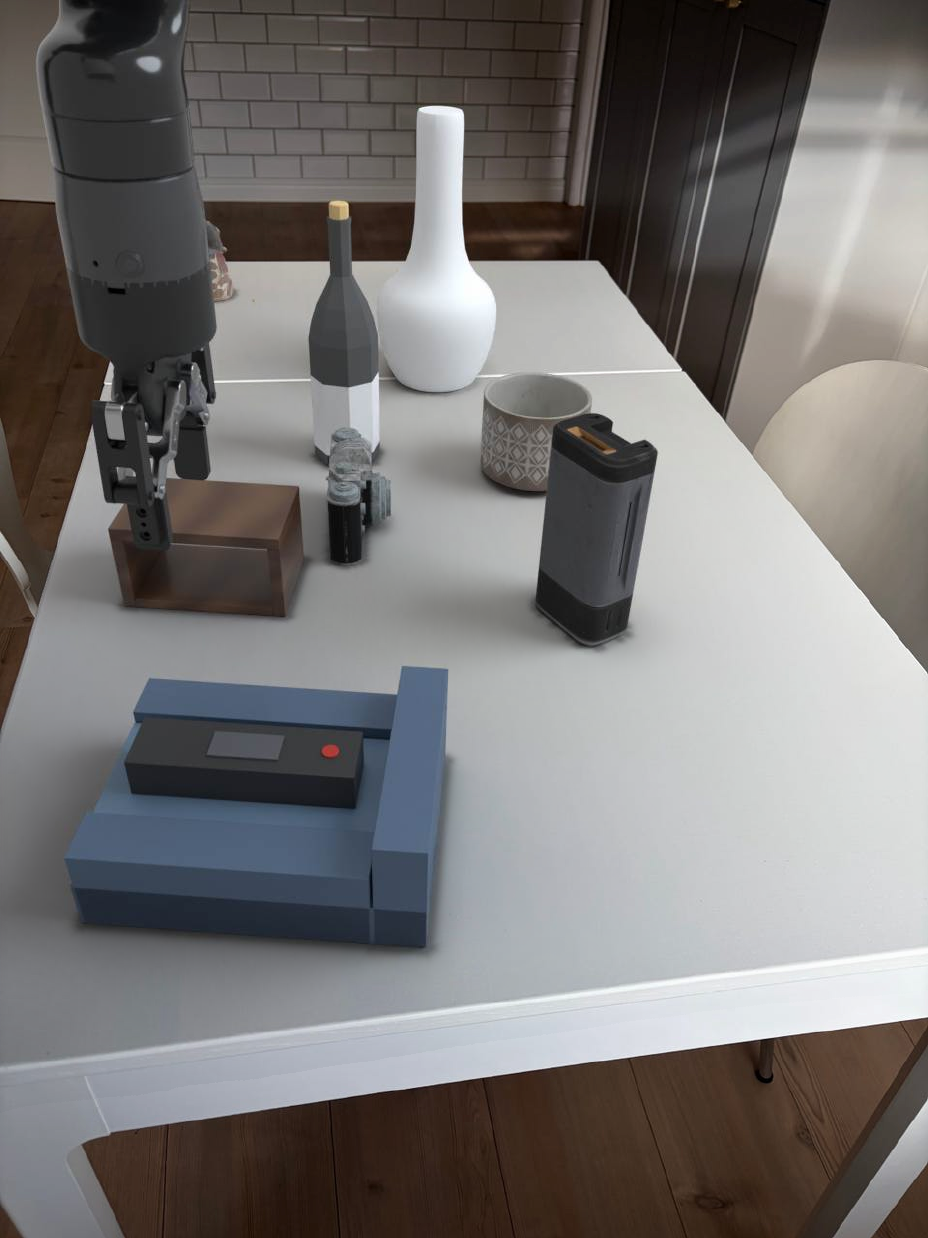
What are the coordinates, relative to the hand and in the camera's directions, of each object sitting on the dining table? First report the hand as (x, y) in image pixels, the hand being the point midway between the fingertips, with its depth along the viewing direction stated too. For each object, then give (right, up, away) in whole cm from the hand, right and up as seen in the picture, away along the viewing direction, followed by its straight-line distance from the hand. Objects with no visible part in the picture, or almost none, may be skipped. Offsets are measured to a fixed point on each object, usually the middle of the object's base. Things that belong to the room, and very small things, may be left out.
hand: (175, 510), depth 63 cm
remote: (+3, -18, +9) cm, 21 cm away
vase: (+14, +28, +80) cm, 86 cm away
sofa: (+4, -23, +12) cm, 27 cm away
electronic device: (+30, -7, +36) cm, 47 cm away
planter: (+27, +11, +59) cm, 65 cm away
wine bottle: (+4, +14, +61) cm, 62 cm away
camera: (+7, +3, +47) cm, 48 cm away
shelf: (-7, -3, +38) cm, 39 cm away
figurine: (-24, +48, +104) cm, 117 cm away
